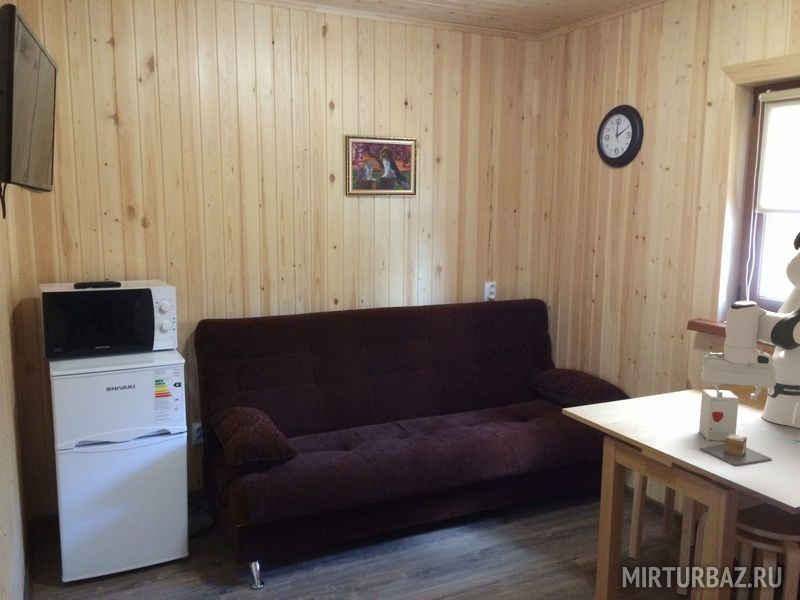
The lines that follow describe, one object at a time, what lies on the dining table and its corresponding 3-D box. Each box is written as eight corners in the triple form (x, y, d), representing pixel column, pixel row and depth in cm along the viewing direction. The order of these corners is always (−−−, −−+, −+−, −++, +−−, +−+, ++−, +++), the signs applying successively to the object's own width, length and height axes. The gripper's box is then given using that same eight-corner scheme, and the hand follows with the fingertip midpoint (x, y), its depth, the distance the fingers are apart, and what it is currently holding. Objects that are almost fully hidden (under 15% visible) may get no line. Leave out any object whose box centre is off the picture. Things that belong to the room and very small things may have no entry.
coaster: (734, 444, 212) (735, 442, 212) (771, 460, 199) (771, 458, 199) (699, 449, 208) (700, 447, 207) (734, 466, 194) (735, 464, 194)
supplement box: (706, 440, 215) (709, 396, 213) (698, 431, 224) (701, 388, 222) (736, 442, 214) (739, 397, 212) (726, 432, 223) (729, 389, 221)
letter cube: (728, 448, 206) (729, 433, 206) (746, 452, 203) (747, 436, 202) (723, 453, 203) (725, 437, 202) (742, 457, 199) (743, 441, 199)
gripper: (703, 354, 200) (700, 397, 202) (779, 359, 193) (775, 404, 195) (701, 349, 206) (698, 392, 208) (775, 354, 199) (771, 398, 201)
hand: (736, 398), depth 202 cm, fingers open, 8 cm apart
